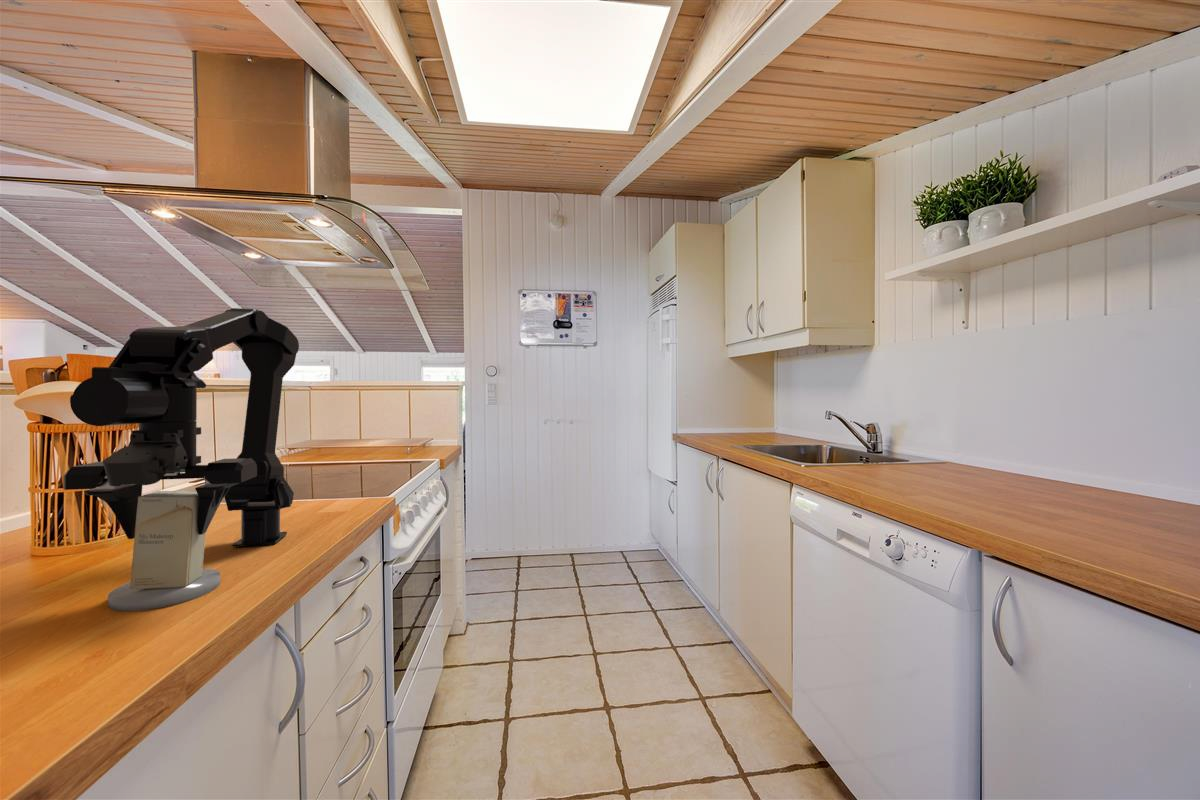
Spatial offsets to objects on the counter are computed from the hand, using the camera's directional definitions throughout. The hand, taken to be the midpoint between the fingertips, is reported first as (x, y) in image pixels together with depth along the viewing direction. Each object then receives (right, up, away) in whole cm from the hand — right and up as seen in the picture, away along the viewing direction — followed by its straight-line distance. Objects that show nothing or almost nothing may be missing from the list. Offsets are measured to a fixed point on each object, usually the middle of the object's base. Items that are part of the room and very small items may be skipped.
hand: (167, 536), depth 62 cm
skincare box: (0, -7, 0) cm, 7 cm away
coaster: (0, -8, 0) cm, 8 cm away
